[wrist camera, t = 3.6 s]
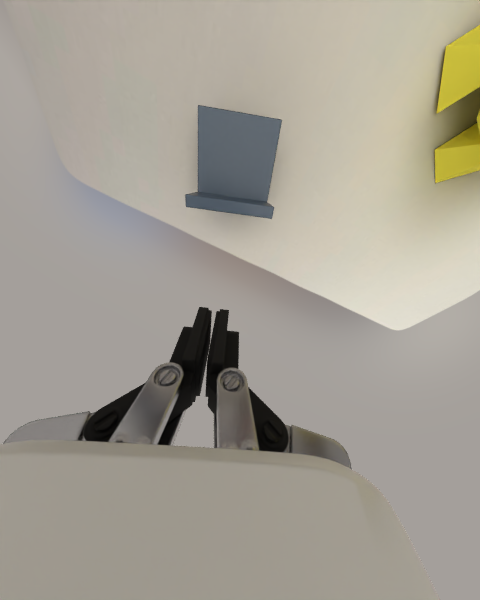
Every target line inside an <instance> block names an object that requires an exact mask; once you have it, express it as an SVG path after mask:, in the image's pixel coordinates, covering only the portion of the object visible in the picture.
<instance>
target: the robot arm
mask: <svg viewBox="0 0 480 600" xmlns="http://www.w3.org/2000/svg"><path fill="white" fill-rule="evenodd" d="M211 313H212V312H211V311H210V310H209V309H208V308H203V307H199V310H198V313H197V316H196V319H195V322H194V325H193V327H184V328H183V330H182V332H181V335H180V337H179V340H178V342H177V344H176V347H175V349H174V352H173V354H172V357H171V360H170V362H169V363H164V364H162V365H160V366H158V367H157V368H156V369H155V370H154V371H153V372H152V374H151V375H150V377H149V379H148V380H147V382H146V383H144V384H143V385H141V386H139V387H137V388H136V389H134V390H132V391H130V392H129V393H127V394H125V395H123V396H122V397H120V398H118V399H117V400H115V401H113V402H111V403H110V404H108V405H106V406H104V407H103V408H101V409H100V410H98V411H97V412H95V413H90V412H89V411H88V412H82V413H76V414H70V415H64V416H58V417H52V418H47V419H41V420H35V421H32V422H29V423H27V424H25V425H23V426H21V427H20V428H18V429H17V430H16V431H14V432H13V433H12V434H11V435H10V436H9V437H8V438H7V439H6V440H5V442H4V443H3V444H1V445H0V600H440V599H439V597H438V595H437V593H436V590H435V588H434V586H433V584H432V582H431V580H430V578H429V576H428V574H427V572H426V570H425V568H424V566H423V564H422V562H421V560H420V558H419V556H418V554H417V552H416V550H415V549H414V546H413V544H412V542H411V540H410V539H409V537H408V535H407V533H406V531H405V529H404V527H403V526H402V524H401V522H400V520H399V518H398V517H397V515H396V513H395V512H394V510H393V508H392V507H391V505H390V504H389V502H388V501H387V499H386V498H385V497H384V496H383V494H382V493H381V492H380V491H379V490H378V489H377V488H376V487H375V486H374V485H373V484H372V483H371V482H370V481H368V480H367V479H365V478H364V477H363V476H361V475H360V474H358V473H357V472H355V471H353V470H352V469H351V463H350V459H349V457H348V454H347V452H346V451H345V449H344V448H343V446H342V445H341V444H340V443H338V442H337V441H335V440H334V439H331V438H328V437H326V436H323V435H320V434H317V433H314V432H311V431H308V430H305V429H303V428H300V427H297V426H294V425H292V426H288V425H285V424H284V423H283V422H282V421H281V419H279V417H277V415H276V414H274V413H273V411H272V410H271V409H270V408H269V407H268V406H267V405H266V404H264V402H263V401H261V400H260V399H259V397H257V396H256V394H255V393H253V392H252V391H251V389H249V387H248V383H247V379H246V376H245V375H244V373H243V372H242V371H240V370H239V369H238V355H239V354H238V353H239V351H238V350H239V349H238V348H239V332H234V331H227V324H228V313H229V310H223V309H220V311H217V312H216V318H215V323H214V328H213V333H212V338H211V344H210V333H211ZM209 345H210V349H209ZM208 351H209V354H208ZM207 356H208V360H207ZM206 361H207V377H206V397H208V407H209V408H210V409H211V411H212V412H213V413H214V448H205V447H187V446H173V444H174V441H175V438H176V436H177V433H178V431H179V428H180V425H181V423H182V420H183V417H184V415H185V411H186V409H187V408H189V407H190V406H191V405H192V402H195V398H196V396H200V392H201V387H202V382H203V377H204V372H205V366H206Z"/></svg>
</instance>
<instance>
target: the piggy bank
mask: <svg viewBox="0 0 480 600" xmlns="http://www.w3.org/2000/svg"><path fill="white" fill-rule="evenodd" d="M479 87H480V25H479V26H477V27H476V28H474V29H473V30H471V31H469V32H468V33H466V34H465V35H463V36H462V37H460V38H458V39H457V40H455V41H454V42H452V43H451V44H449V45H448V46H446V49H445V57H444V64H443V71H442V78H441V85H440V92H439V100H438V107H437V113H439V112H440V111H442V110H443V109H445V108H447V107H448V106H450V105H452V104H453V103H455V102H456V101H458V100H460V99H461V98H463V97H464V96H466V95H468V94H469V93H471V92H473V91H474V90H476V89H477V88H479ZM477 122H478V123H476V124H475V125H473V126H471V127H470V128H468V129H467V130H465V131H464V132H462V133H460V134H459V135H457V136H456V137H454V138H453V139H451V140H449V141H448V142H446V143H445V144H443V145H442V146H440V147H438V148H437V149H435V183H438V182H441V181H445V180H448V179H451V178H455V177H458V176H462V175H465V174H469V173H472V172H475V171H479V170H480V110H479V113H478V116H477Z"/></svg>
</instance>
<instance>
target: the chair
mask: <svg viewBox="0 0 480 600" xmlns="http://www.w3.org/2000/svg"><path fill="white" fill-rule="evenodd" d="M281 122H282V120H280V119H275V118H269V117H263V116H258V115H252V114H246V113H240V112H235V111H229V110H223V109H218V108H212V107H206V106H200V105H198V192H195V193H190V194H186V195H185V197H186V207H191V208H198V209H205V210H213V211H220V212H227V213H234V214H241V215H248V216H256V217H263V218H270V219H272V215H273V211H274V207H273V206H272V205H270V204H269V203H268V202H267V199H268V194H269V188H270V183H271V177H272V172H273V166H274V161H275V155H276V150H277V144H278V139H279V133H280V128H281Z"/></svg>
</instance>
